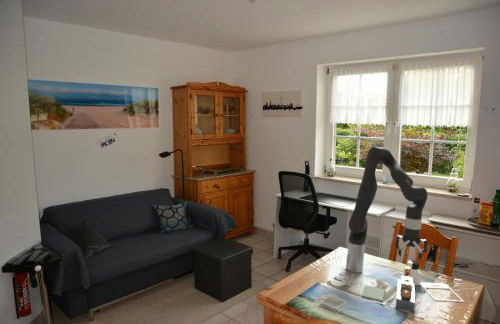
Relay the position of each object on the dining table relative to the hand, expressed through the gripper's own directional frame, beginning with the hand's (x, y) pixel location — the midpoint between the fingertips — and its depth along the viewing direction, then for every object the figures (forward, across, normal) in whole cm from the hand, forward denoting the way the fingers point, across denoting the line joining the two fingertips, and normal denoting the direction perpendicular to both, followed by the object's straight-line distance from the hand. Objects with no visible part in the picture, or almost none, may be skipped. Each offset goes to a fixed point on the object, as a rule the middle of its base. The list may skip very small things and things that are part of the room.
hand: (409, 257), depth 173 cm
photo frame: (+23, +17, +16) cm, 32 cm away
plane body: (+22, 0, -1) cm, 22 cm away
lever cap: (+16, 0, 0) cm, 16 cm away
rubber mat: (+22, -15, -3) cm, 27 cm away
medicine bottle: (+22, +3, +21) cm, 31 cm away
